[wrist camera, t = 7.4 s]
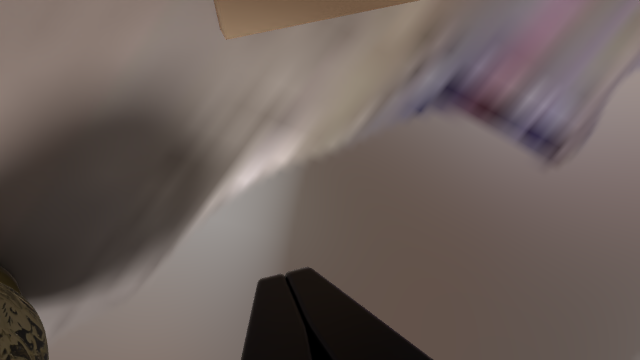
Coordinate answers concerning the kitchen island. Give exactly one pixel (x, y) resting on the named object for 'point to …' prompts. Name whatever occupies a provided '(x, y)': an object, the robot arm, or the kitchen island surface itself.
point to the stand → (285, 13)
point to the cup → (19, 324)
